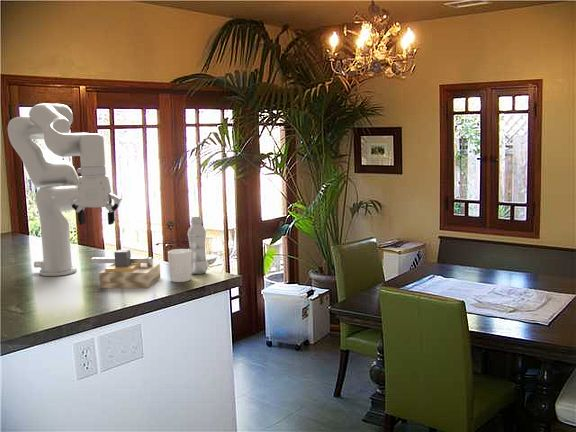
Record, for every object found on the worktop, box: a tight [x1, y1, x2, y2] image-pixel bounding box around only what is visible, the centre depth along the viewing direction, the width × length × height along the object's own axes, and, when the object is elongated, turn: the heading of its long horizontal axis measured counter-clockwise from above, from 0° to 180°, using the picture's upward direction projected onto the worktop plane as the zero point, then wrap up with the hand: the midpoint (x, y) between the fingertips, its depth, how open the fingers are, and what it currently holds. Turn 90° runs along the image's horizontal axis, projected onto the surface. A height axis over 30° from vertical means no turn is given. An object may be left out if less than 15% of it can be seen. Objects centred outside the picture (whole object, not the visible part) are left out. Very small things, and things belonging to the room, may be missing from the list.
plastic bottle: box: [187, 216, 209, 275], centre depth 217 cm, size 6×7×20 cm
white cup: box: [167, 248, 192, 283], centre depth 209 cm, size 8×8×10 cm
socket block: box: [98, 262, 161, 289], centre depth 207 cm, size 16×14×5 cm
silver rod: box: [90, 256, 154, 266], centre depth 209 cm, size 21×2×3 cm, turn 85°
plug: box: [104, 249, 141, 272], centre depth 206 cm, size 9×9×9 cm
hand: (96, 224), depth 202 cm, fingers open, 9 cm apart
